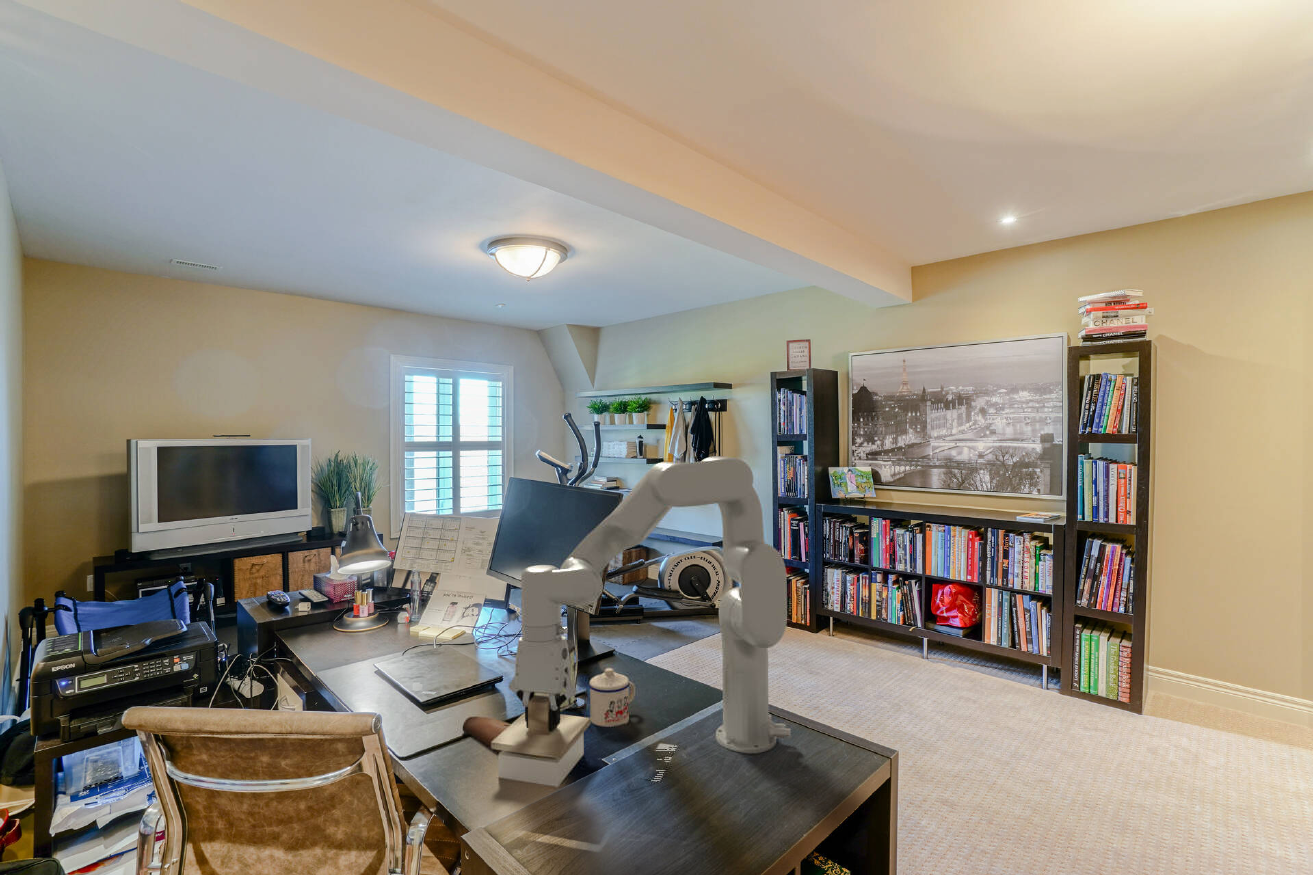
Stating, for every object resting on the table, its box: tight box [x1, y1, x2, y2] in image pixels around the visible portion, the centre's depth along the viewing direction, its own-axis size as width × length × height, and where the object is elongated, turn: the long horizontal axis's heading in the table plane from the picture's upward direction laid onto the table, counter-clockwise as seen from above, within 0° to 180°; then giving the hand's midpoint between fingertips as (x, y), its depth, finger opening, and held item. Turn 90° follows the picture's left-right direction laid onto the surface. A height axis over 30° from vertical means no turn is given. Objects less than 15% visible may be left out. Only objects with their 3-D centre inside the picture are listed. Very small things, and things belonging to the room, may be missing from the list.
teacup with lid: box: [588, 667, 636, 728], centre depth 141 cm, size 12×9×12 cm
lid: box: [490, 693, 592, 759], centre depth 120 cm, size 14×14×7 cm
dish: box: [497, 732, 585, 788], centre depth 120 cm, size 12×12×5 cm
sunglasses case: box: [462, 716, 511, 754], centre depth 131 cm, size 18×7×7 cm
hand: (542, 725), depth 120 cm, fingers closed on lid, 4 cm apart
